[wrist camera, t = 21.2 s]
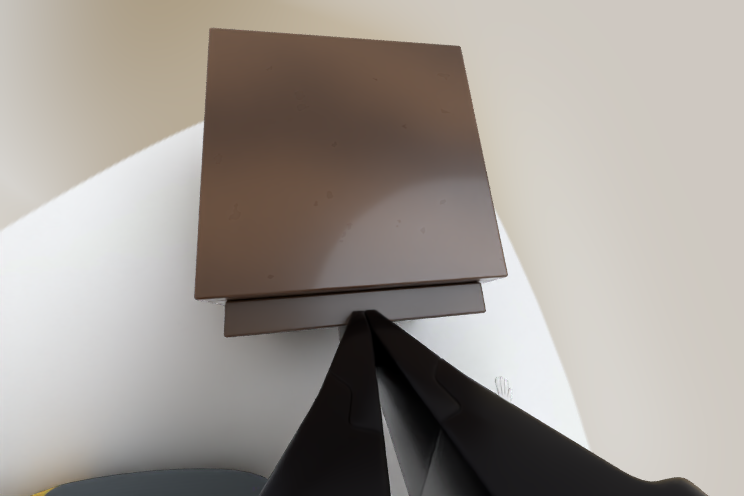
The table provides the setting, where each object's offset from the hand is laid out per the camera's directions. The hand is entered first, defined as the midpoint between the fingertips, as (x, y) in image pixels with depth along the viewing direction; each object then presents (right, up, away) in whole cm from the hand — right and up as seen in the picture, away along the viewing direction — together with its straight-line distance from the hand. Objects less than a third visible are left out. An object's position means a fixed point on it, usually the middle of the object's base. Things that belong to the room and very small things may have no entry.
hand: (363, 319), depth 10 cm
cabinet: (-2, +4, +9) cm, 10 cm away
